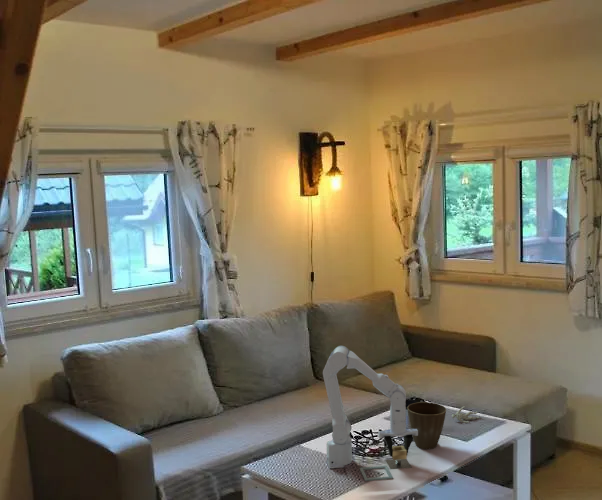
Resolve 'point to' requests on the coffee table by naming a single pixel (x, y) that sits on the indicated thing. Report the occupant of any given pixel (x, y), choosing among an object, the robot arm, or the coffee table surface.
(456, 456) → the coffee table surface
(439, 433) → the plant pot
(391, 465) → the stake
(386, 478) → the green square frame
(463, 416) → the soldier figure
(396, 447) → the collar
